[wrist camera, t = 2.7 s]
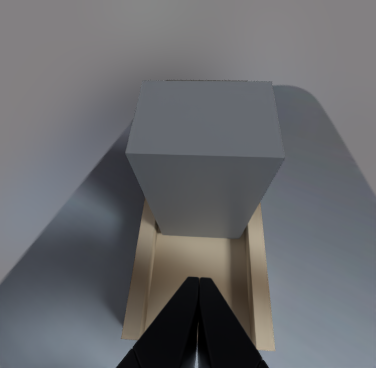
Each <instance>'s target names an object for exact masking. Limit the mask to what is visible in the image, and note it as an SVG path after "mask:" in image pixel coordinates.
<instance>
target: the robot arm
mask: <svg viewBox="0 0 376 368" xmlns="http://www.w3.org/2000/svg"><path fill="white" fill-rule="evenodd" d="M197 335H198V339H197ZM196 352H197V353H198V368H269V367H268V366H267V364H266V362H265V361H264V360H262V356H261V355H260V353H259V352H258V350H257V349H256V347H255V345H254V344H253V342H252V341H251V339H250V338H249V336H248V334H247V333H246V331H245V330H244V328H243V327H242V325H241V323H240V322H239V320H238V319H237V317H236V316H235V314H234V312H233V311H232V309H231V308H230V306H229V305H228V303H227V301H226V300H225V298H224V297H223V295H222V294H221V292H220V291H219V289H218V287H217V286H216V284H215V283H214V281H213V280H212V278H209V277H201V278H200V280H199V277H192V276H188V277H187V278H186V279H185V281H184V282H183V283H182V284H181V286H180V287H179V288H178V290H177V291H176V292H175V293H174V295H173V296H172V297H171V299H170V300H169V301H168V302H167V304H166V305H165V306H164V307H163V309H162V310H161V311H160V313H159V314H158V315H157V316H156V318H155V319H154V320H153V322H152V323H151V324H150V325H149V327H148V328H147V329H146V331H145V332H144V333H143V334H142V336H141V337H140V338H139V339H138V341H137V342H136V343H135V345H134V346H133V348H132V349H131V350H130V351H129V352H128V353H127V355H126V356H125V357H124V359H123V360H122V361H121V362H120V363H119V365H118V366H117V367H116V368H194V366H195V359H196Z"/></svg>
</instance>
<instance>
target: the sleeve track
mask: <svg viewBox="0 0 376 368" xmlns="http://www.w3.org/2000/svg"><path fill="white" fill-rule="evenodd" d="M166 81H204V80H166ZM205 81H206V80H205ZM207 81H212V80H207ZM213 81H216V80H213ZM188 276H192V277H199V280H200V278H201V277H209V278H212V280H213V281H214V283H215V284H216V286H217V287H218V289H219V291H220V292H221V294H222V295H223V297H224V298H225V300H226V301H227V303H228V305H229V306H230V308H231V309H232V311H233V312H234V314H235V316H236V317H237V319H238V320H239V322H240V323H241V325H242V327H243V328H244V330H245V331H246V333H247V334H248V336H249V338H250V339H251V341H252V342H253V344H254V345H255V347H256V349H257V350H266V351H275V344H274V334H273V324H272V314H271V304H270V294H269V284H268V274H267V264H266V254H265V244H264V234H263V224H262V214H261V204H260V203H259V205H258V207H257V208H256V210H255V212H254V214H253V215H252V217H251V219H250V221H249V223H248V224H247V226H246V228H245V230H244V231H243V233H242V235H241V237H240V238H239V239H228V238H209V237H189V236H169V235H162V233H161V231H160V228H159V226H158V224H157V222H156V220H155V218H154V215H153V213H152V211H151V209H150V207H149V204H148V202H147V200H146V198H145V201H144V207H143V213H142V219H141V225H140V231H139V237H138V242H137V248H136V254H135V260H134V266H133V272H132V278H131V283H130V289H129V295H128V301H127V307H126V313H125V319H124V325H123V330H122V336H121V339H129V340H138V339H139V338H140V337H141V336H142V334H143V333H144V332H145V331H146V329H147V328H148V327H149V325H150V324H151V323H152V322H153V320H154V319H155V318H156V316H157V315H158V314H159V313H160V311H161V310H162V309H163V307H164V306H165V305H166V304H167V302H168V301H169V300H170V299H171V297H172V296H173V295H174V293H175V292H176V291H177V290H178V288H179V287H180V286H181V284H182V283H183V282H184V281H185V279H186V278H187V277H188ZM197 339H198V335H197Z"/></svg>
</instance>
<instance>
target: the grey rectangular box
mask: <svg viewBox="0 0 376 368" xmlns="http://www.w3.org/2000/svg"><path fill="white" fill-rule="evenodd" d="M125 154H126V156H127V158H128V161H129V163H130V165H131V167H132V169H133V172H134V174H135V176H136V178H137V180H138V182H139V185H140V187H141V189H142V191H143V193H144V196H145V198H146V200H147V202H148V204H149V207H150V209H151V211H152V213H153V215H154V218H155V220H156V222H157V224H158V226H159V228H160V231H161V233H162V235H169V236H189V237H209V238H228V239H239V238H240V237H241V235H242V233H243V231H244V230H245V228H246V226H247V224H248V223H249V221H250V219H251V217H252V215H253V214H254V212H255V210H256V208H257V207H258V205H259V203H260V201H261V200H262V198H263V196H264V194H265V193H266V191H267V189H268V187H269V185H270V184H271V182H272V180H273V178H274V177H275V175H276V173H277V171H278V170H279V168H280V166H281V164H282V162H283V161H284V159H285V154H284V148H283V143H282V137H281V131H280V126H279V120H278V115H277V109H276V103H275V98H274V92H273V86H272V82H265V81H264V82H263V81H261V82H259V81H256V82H255V81H253V82H252V81H143V82H142V86H141V90H140V94H139V99H138V102H137V107H136V111H135V115H134V119H133V123H132V127H131V131H130V135H129V139H128V144H127V148H126V152H125Z"/></svg>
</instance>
